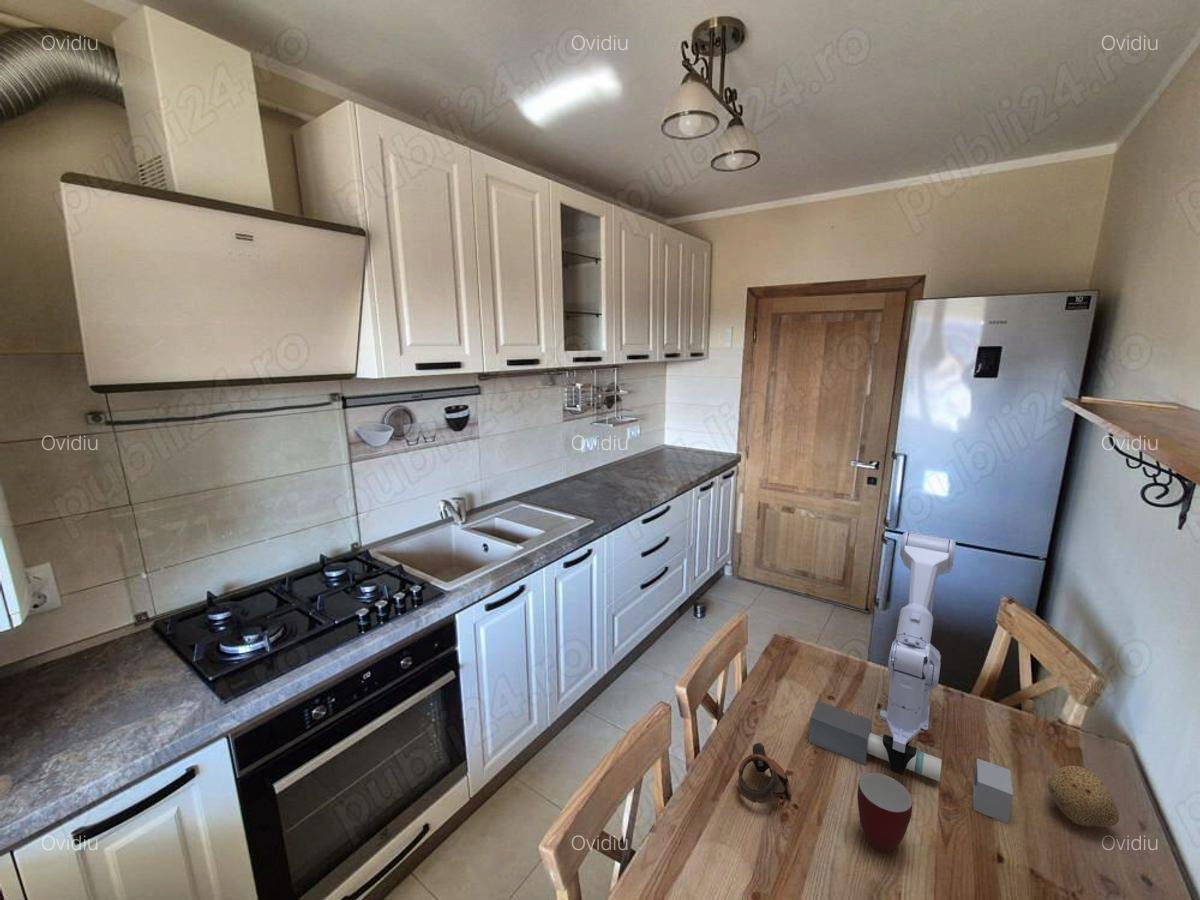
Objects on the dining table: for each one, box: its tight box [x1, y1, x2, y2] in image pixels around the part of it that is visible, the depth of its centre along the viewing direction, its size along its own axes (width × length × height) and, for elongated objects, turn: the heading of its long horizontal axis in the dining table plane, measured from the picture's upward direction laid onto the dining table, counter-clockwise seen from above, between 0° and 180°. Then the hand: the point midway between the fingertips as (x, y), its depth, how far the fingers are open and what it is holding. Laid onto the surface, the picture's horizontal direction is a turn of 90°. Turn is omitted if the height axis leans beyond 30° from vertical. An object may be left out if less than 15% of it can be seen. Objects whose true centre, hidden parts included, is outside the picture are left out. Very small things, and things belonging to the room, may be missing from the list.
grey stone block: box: [808, 700, 873, 766], centre depth 108 cm, size 11×7×6 cm, turn 54°
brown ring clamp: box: [737, 742, 792, 805], centre depth 97 cm, size 12×10×8 cm
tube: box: [867, 732, 942, 782], centre depth 104 cm, size 23×4×4 cm, turn 54°
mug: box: [856, 772, 914, 853], centre depth 87 cm, size 11×8×10 cm
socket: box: [972, 758, 1014, 825], centre depth 93 cm, size 5×7×6 cm
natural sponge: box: [1047, 765, 1120, 828], centre depth 89 cm, size 9×9×10 cm
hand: (898, 759), depth 102 cm, fingers open, 7 cm apart
